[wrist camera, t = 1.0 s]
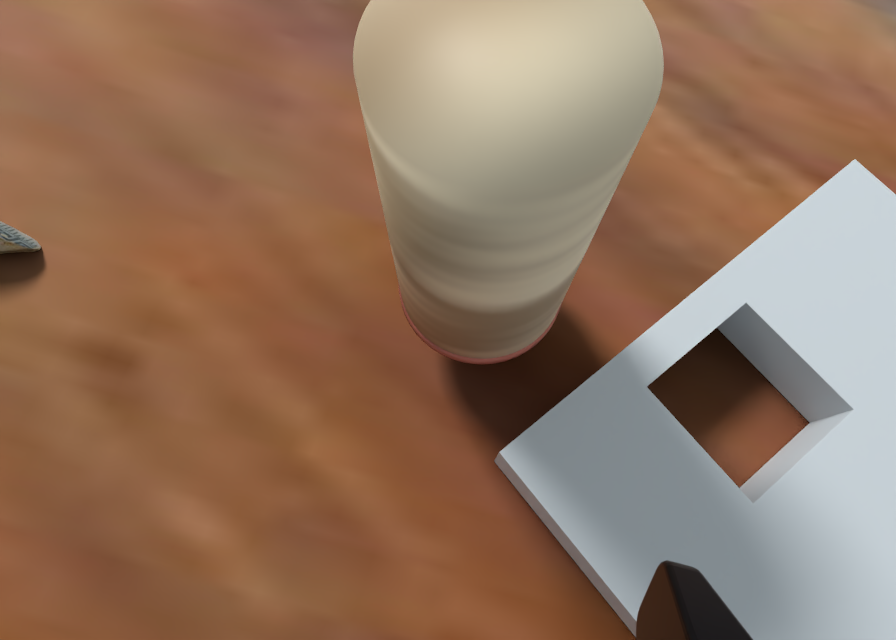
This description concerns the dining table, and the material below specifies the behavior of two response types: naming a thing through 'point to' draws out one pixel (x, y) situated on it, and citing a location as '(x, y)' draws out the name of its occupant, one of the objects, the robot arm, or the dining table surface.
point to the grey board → (786, 474)
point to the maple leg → (499, 152)
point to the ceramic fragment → (15, 240)
